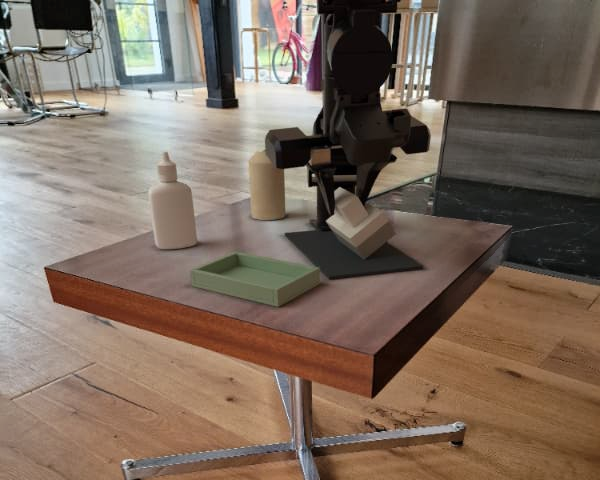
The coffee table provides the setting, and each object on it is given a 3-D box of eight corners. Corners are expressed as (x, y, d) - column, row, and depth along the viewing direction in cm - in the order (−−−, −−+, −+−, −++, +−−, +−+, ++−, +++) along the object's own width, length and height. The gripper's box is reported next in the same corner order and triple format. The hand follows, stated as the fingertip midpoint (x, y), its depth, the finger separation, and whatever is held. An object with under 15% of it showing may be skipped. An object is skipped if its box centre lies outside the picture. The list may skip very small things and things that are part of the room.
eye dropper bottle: (161, 241, 81) (148, 149, 75) (200, 241, 80) (190, 149, 74) (152, 250, 77) (137, 154, 71) (192, 250, 77) (181, 154, 70)
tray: (191, 286, 65) (189, 269, 64) (236, 266, 71) (235, 251, 70) (278, 307, 59) (277, 289, 58) (320, 283, 65) (320, 267, 64)
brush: (339, 240, 78) (313, 202, 75) (367, 217, 78) (343, 177, 74) (364, 260, 71) (337, 218, 67) (396, 234, 70) (370, 191, 67)
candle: (264, 211, 96) (261, 146, 90) (291, 214, 93) (290, 148, 88) (244, 218, 92) (240, 151, 86) (273, 222, 89) (270, 153, 84)
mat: (284, 235, 82) (284, 232, 82) (362, 228, 85) (362, 225, 85) (329, 279, 66) (329, 276, 66) (423, 268, 69) (423, 265, 69)
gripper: (286, 98, 54) (291, 250, 64) (464, 82, 58) (441, 228, 68) (260, 74, 62) (267, 212, 72) (416, 61, 66) (403, 194, 76)
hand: (345, 212), depth 72 cm, fingers closed on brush, 3 cm apart
